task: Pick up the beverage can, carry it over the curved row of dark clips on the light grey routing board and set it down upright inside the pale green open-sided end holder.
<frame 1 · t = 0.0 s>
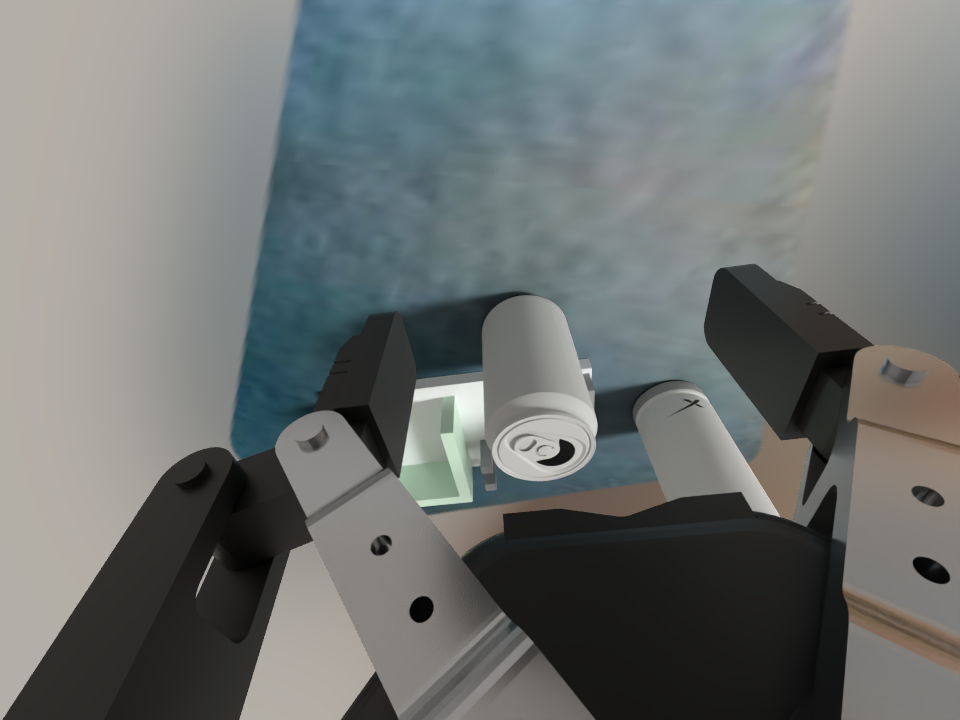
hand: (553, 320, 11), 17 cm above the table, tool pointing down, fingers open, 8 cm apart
beverage can: (522, 324, 32), on the table
routing board: (466, 419, 38), on the table
travel mug: (665, 402, 38), on the table
end holder: (412, 438, 38), resting on routing board
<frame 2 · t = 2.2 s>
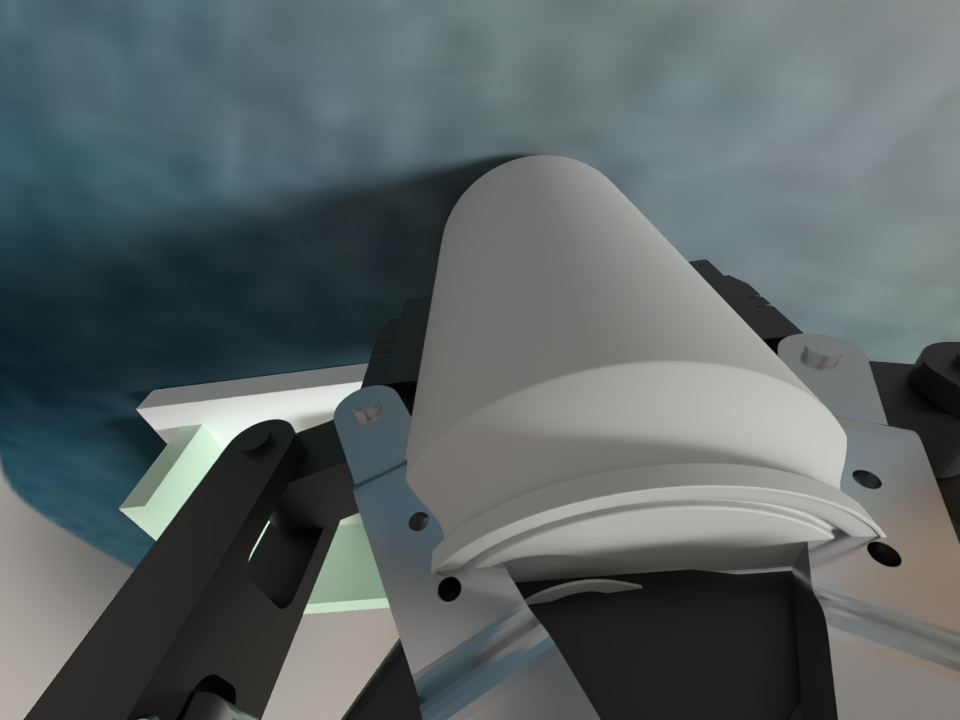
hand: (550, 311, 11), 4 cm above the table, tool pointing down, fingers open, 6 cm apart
beverage can: (532, 246, 15), on the table, touching gripper
routing board: (425, 446, 21), on the table
end holder: (326, 482, 21), resting on routing board
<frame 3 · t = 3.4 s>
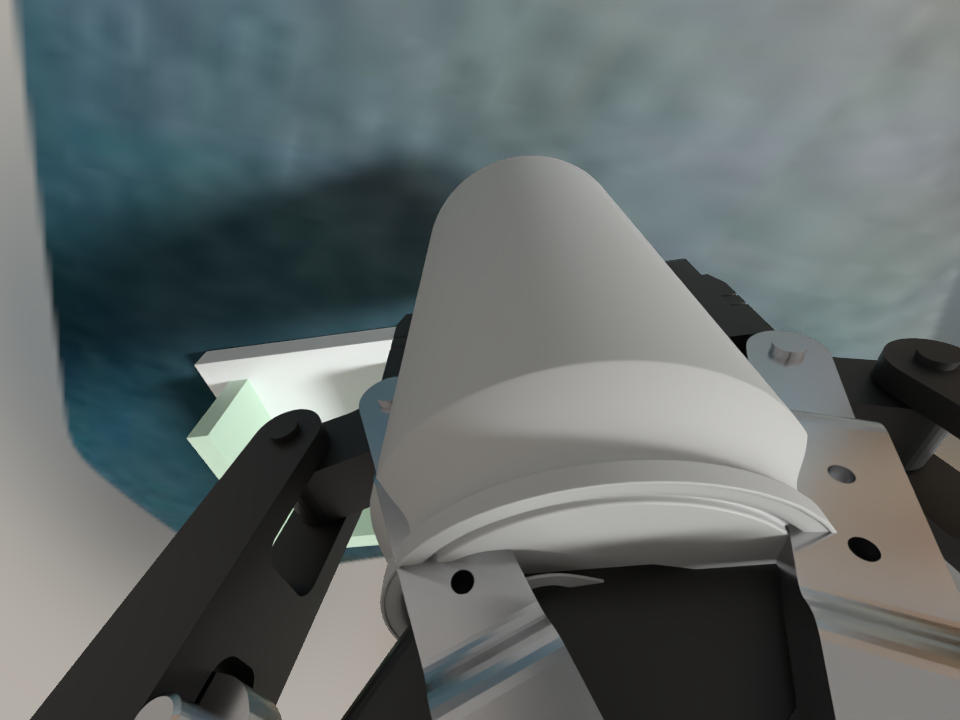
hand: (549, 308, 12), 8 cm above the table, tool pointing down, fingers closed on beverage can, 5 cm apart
beverage can: (521, 245, 15), point 4 cm above the table, touching gripper
routing board: (433, 405, 24), on the table
end holder: (348, 435, 24), resting on routing board
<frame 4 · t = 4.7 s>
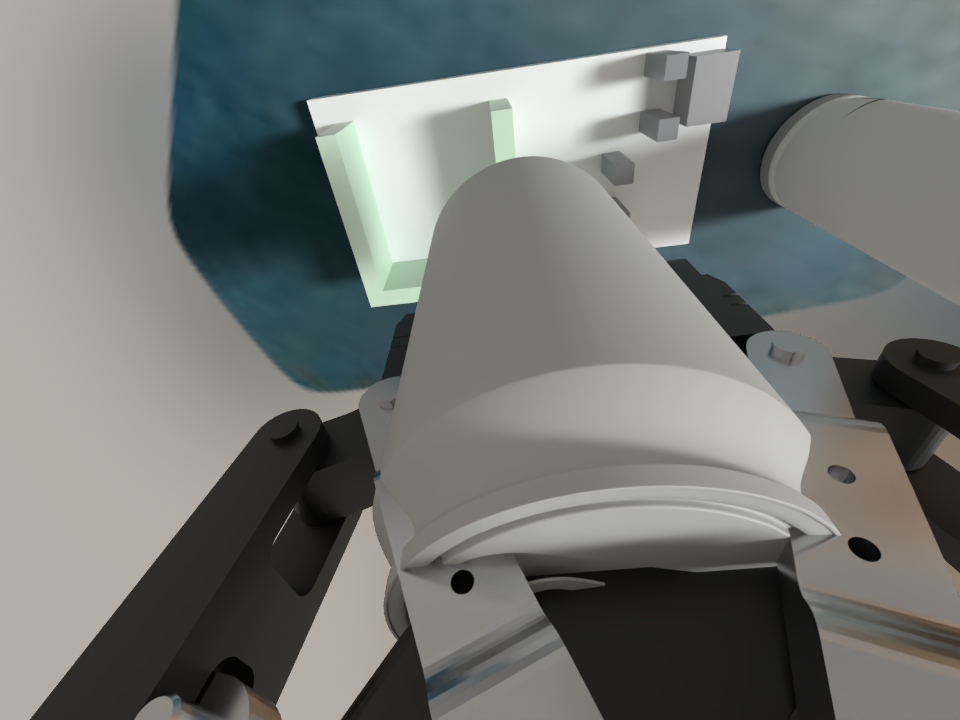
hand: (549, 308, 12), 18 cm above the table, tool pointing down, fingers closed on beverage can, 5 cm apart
beverage can: (522, 246, 15), point 14 cm above the table, touching gripper
routing board: (515, 174, 26), on the table
travel mug: (809, 150, 26), on the table
end holder: (436, 198, 26), resting on routing board
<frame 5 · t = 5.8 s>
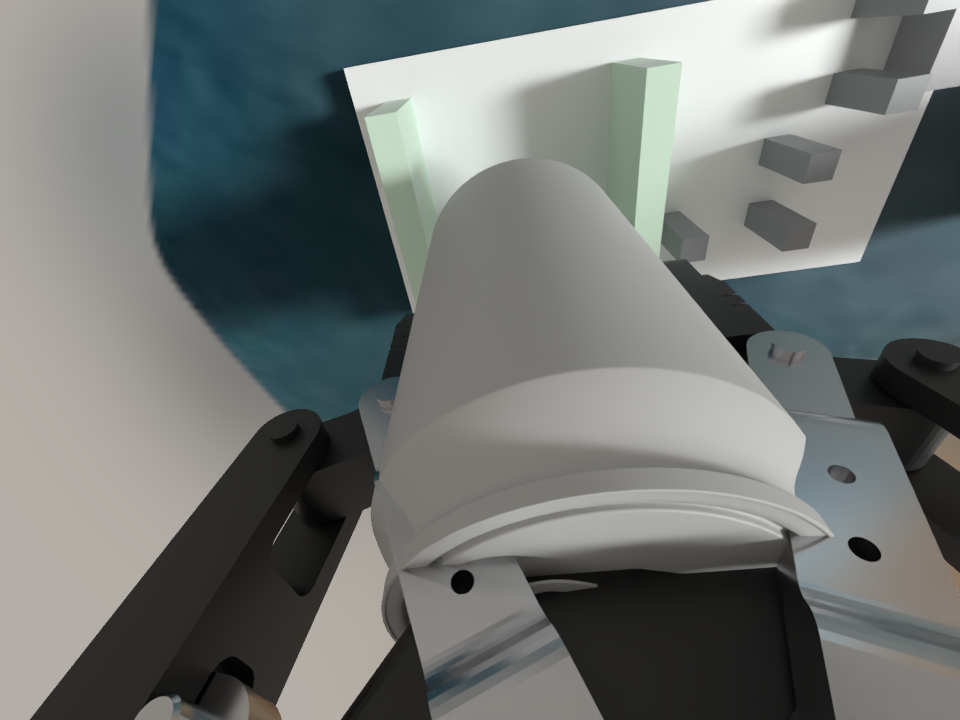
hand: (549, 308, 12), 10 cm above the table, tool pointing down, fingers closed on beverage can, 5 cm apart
beverage can: (521, 247, 15), point 6 cm above the table, touching gripper
routing board: (628, 171, 19), on the table
end holder: (520, 207, 19), resting on routing board
when the fingers open (7 cm above the table, at t = 6.9 s): beverage can drops 1 cm, resting on routing board.
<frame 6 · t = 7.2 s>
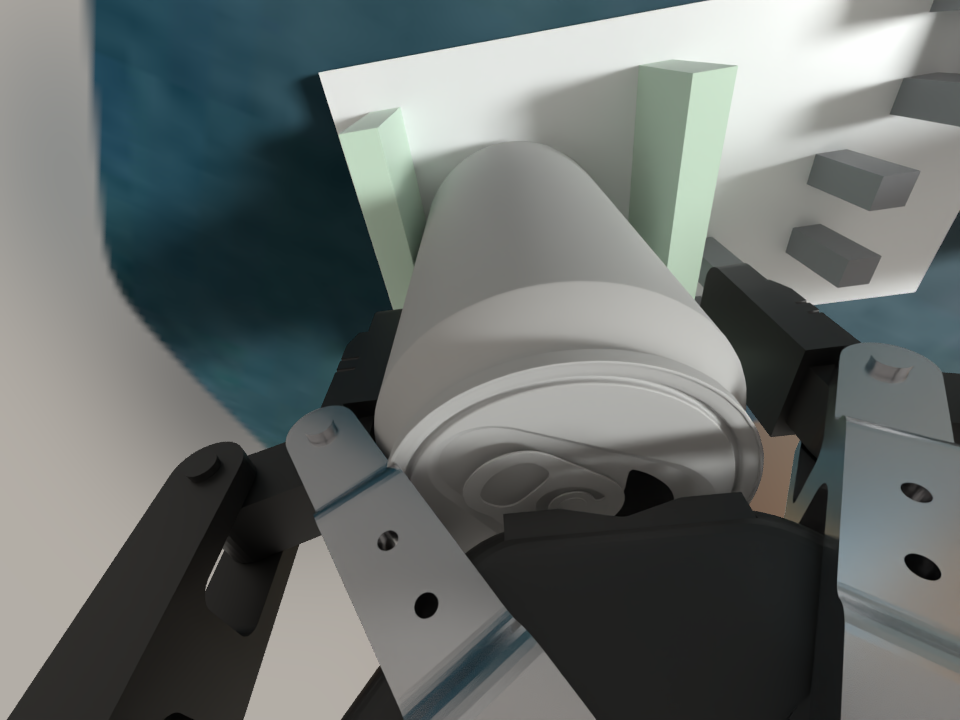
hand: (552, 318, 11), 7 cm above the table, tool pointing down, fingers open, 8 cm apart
beverage can: (512, 227, 16), point 1 cm above the table, touching routing board
routing board: (653, 190, 16), on the table
end holder: (528, 233, 16), resting on routing board
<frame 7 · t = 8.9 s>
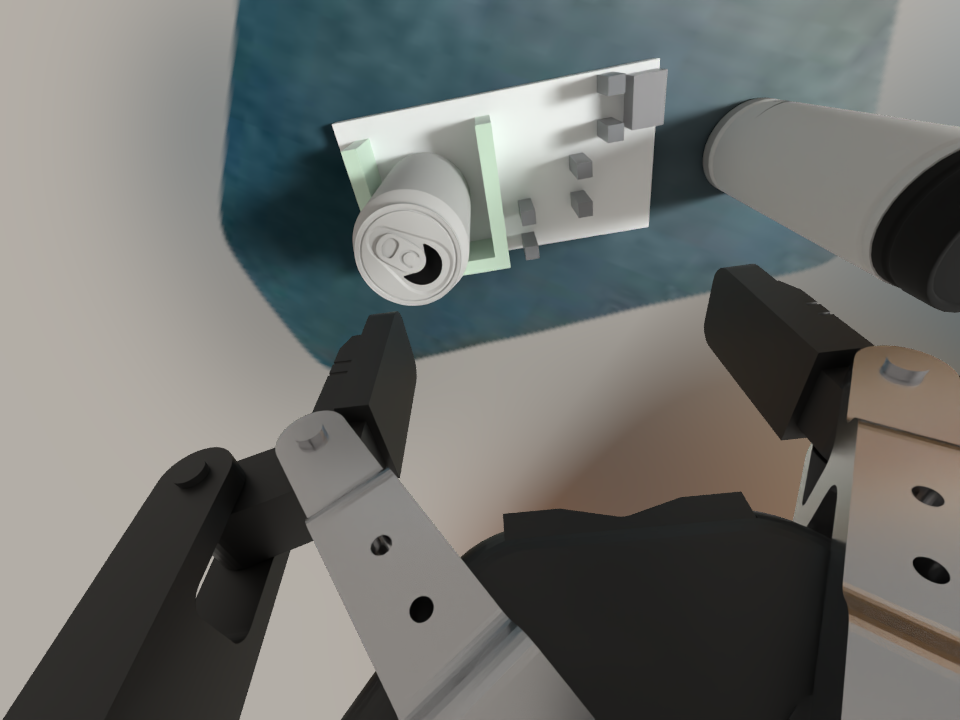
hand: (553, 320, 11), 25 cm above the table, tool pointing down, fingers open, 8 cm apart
beverage can: (428, 195, 32), point 1 cm above the table, touching routing board
routing board: (500, 175, 32), on the table
travel mug: (742, 144, 31), on the table
end holder: (436, 198, 32), resting on routing board
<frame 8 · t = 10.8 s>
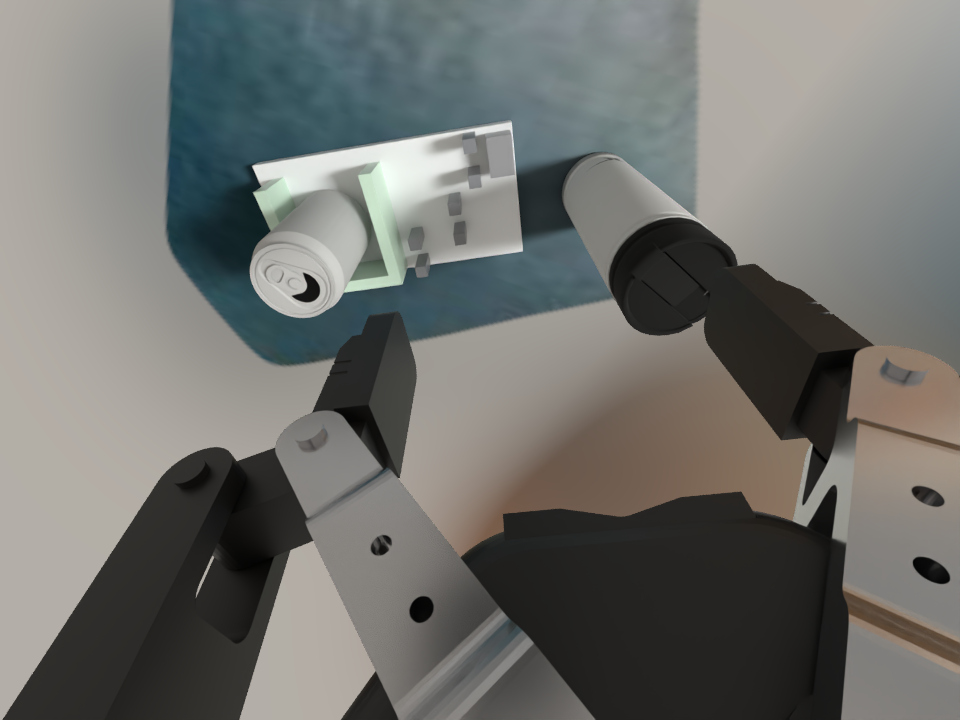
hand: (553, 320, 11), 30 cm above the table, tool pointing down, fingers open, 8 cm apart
beverage can: (338, 222, 39), point 1 cm above the table, touching routing board
routing board: (398, 207, 39), on the table
travel mug: (594, 187, 38), on the table
end holder: (344, 224, 38), resting on routing board
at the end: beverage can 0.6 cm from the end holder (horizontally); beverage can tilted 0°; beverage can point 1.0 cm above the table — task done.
